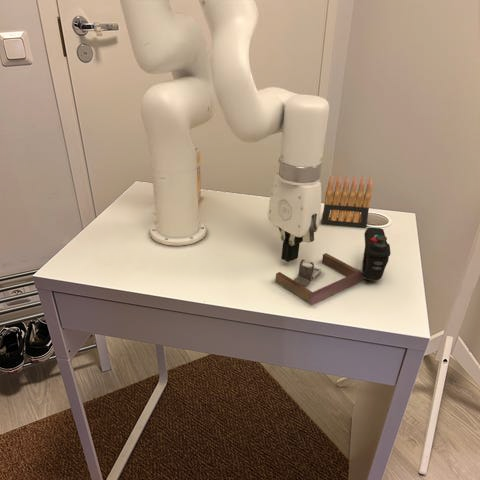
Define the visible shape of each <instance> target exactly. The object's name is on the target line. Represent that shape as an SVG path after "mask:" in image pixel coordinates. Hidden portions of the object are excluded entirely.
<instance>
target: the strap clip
mask: <svg viewBox="0 0 480 480" xmlns="http://www.w3.org/2000/svg"><path fill="white" fill-rule="evenodd" d="M303 263H305V264H306V263H307V264H310V265H309V266H306V265H304V264H303ZM321 272H322V270H321V268H318V267H315V263H314V262H312V261H310V260H306V259H300V263H299V267H298V276H297V277H295V278H294V279H293V280H294V281H295V282H297V283H299V284H300V285H302V286H303V287H305V288H307V287H308V286H310V283H311V281H314V280H315V279H316V278H318V277H319V276H320V275H321Z"/></svg>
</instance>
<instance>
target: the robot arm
mask: <svg viewBox="0 0 480 480" xmlns="http://www.w3.org/2000/svg"><path fill="white" fill-rule="evenodd" d="M119 2H120V6H121V10H122V13H123V18H124V22H125V26H126V29H127V33H128V38H129V42H130V44H131V49H132V52H133V55H134V59H135V61H136V63H137V66H138V67H139V68H140V69H141V70H142V71H144V73H146V74H151V75H160V74H167V73H171V75H172V79H168V80H164V81H161V82H158V83H155V84H154V85H152V86H151V87H149V88H148V89H147V90H146V92H144V95H143V96H142V99H141V102H140V115H141V119H142V124H143V127H144V130H145V133H146V138H147V143H148V147H149V148H148V150H149V157H150V158H149V159H150V168H151V175H152V176H151V178H152V188H153V190H152V191H153V201H154V209H152V214H153V215H154V216H155V221H156V223H154V224H153V225H152V226H151V228H150V237H151V239H152V240H154V241H155V242H157V243H159V244H161V245H166V246H177V247H178V246H187V245H188V246H189V245H192V244H195V243H198V242H199V241H201V240H203V239H204V238H205V237H206V236H207V235H206V234H207V228H206V226H205V224H203V223H202V222H201V221H200V218H199V217H200V215H199V200H198V184H197V159H196V151H195V148H196V147H195V145H194V142H193V140H192V136H191V134H190V130H192V129H194V128H196V127H199V126H201V125H203V124H206V123H207V122H209V121H210V120H211V119H212V118H213V117H214V115H215V113H216V110H217V104H218V105H219V108H220V110H221V112H222V114H223V117H224V119H225V122H226V125H227V126H228V127H229V129H230V131H231V132H232V133H233V135H234V136H235V137H236V138H237V139H238V140H240V141H242V142H244V143H248V144H250V143H251V144H252V143H257V142H260V141H262V140H264V139H266V138H268V137H269V136H272V135H276V134H280V133H281V144H280V156H279V157H278V163H279V167H278V172H276V173H275V176H274V179H273V182H272V185H271V191H270V197H269V204H268V211H267V213H268V214H267V217H268V220H269V222H270V223H271V224H273V226H276V227H277V228H278V230H279V233H280V240H281V241H282V249H281V257H280V259H281V260H282V261H284V262H285V263H289V262H293V261H296V260H297V259H298V258H299V254H300V253H299V252H300V244H301V243H308V244H309V243H312V242H314V241H315V233H316V232H317V231H318V229H319V224H320V219H321V210H322V182H321V181H320V180H321V179H320V178H321V171H322V165H323V157H324V151H325V150H324V149H325V142H326V138H327V137H326V136H327V130H328V122H329V115H330V103H329V102H328V100H327V99H325V98H324V97H322V96H319V95H315V94H299V93H296V92H293V91H290V90H287V89H285V88H282V87H277V86H269V87H265V88H262V89H257V86H256V83H255V80H254V77H253V74H252V69H251V65H250V45H251V40H252V37H253V35H254V33H255V30H256V28H257V26H258V23H259V20H260V12H259V8H258V6H257V3H256V0H198V2H199V5H200V7H201V10H202V13H203V17H204V19H205V21H206V24H207V27H208V29H209V32H210V35H211V51H210V53H209V47H208V42H207V39H206V36H205V34H204V31H203V29H202V28H201V26H200V24H199V23H198V22H197V21H196V19H195V18H193V17H192V16H191V15H188V14H186V13H184V12H173V9H172V7H171V2H170V0H119Z"/></svg>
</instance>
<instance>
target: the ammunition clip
mask: <svg viewBox="0 0 480 480" xmlns="http://www.w3.org/2000/svg"><path fill="white" fill-rule="evenodd" d="M365 183H366V181H365V177H364V176H361V179H360V182H359V184H358V180H357V176H356V175H355V176H354V177H353V179H352V182H351V185H350V177H349V175H346V177H345V179H344V182H343V187H342V176H341V174H339V175H338V176H337V179H336V182H335V187H334V176H333V174H331V175H330V176H329V179H328V182H327V187H326V192H325V197H324V204H323V211H322V215H321V223H320V224H321V225H322V226H324V225H325V226H335V227H346V228H358V229H367V225H368V218H369V212H370V211H369V210H370V205H371V200H372V190H373V189H372V188H373V177H370V178H369V179H368V181H367V185H366V189H365ZM357 184H358V185H357ZM357 186H358V189H357ZM349 187H350V189H349ZM341 189H342V191H341ZM349 190H350V191H349Z"/></svg>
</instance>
